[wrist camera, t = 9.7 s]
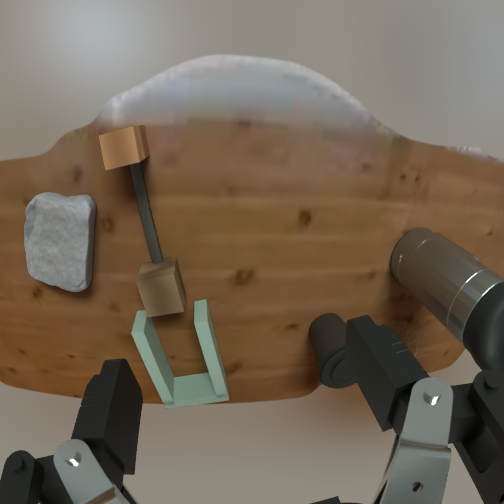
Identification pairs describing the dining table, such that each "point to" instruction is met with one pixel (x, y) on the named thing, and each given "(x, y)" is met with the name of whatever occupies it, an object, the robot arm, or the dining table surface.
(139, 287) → the wooden cube dumbbell
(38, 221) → the stone block
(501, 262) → the dining table surface
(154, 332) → the channel
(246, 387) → the dining table surface
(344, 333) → the coffee cup
